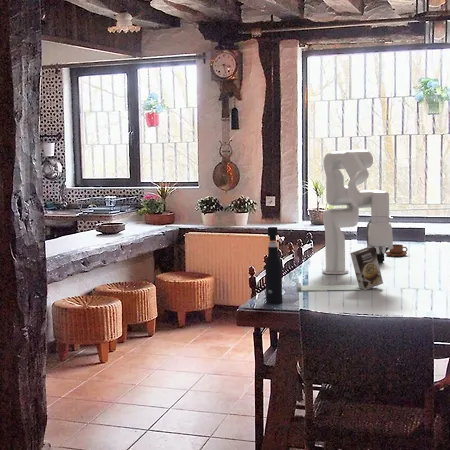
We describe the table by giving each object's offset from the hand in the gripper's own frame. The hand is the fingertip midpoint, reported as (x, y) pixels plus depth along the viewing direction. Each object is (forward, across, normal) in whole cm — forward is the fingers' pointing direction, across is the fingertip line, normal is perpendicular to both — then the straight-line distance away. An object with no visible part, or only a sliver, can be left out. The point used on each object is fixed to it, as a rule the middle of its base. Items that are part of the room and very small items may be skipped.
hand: (380, 262), depth 299 cm
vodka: (+11, -7, -72) cm, 73 cm away
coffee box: (+10, +4, 0) cm, 11 cm away
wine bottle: (+11, +46, +27) cm, 54 cm away
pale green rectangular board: (+11, +22, 0) cm, 25 cm away
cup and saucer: (+11, -22, -97) cm, 100 cm away
